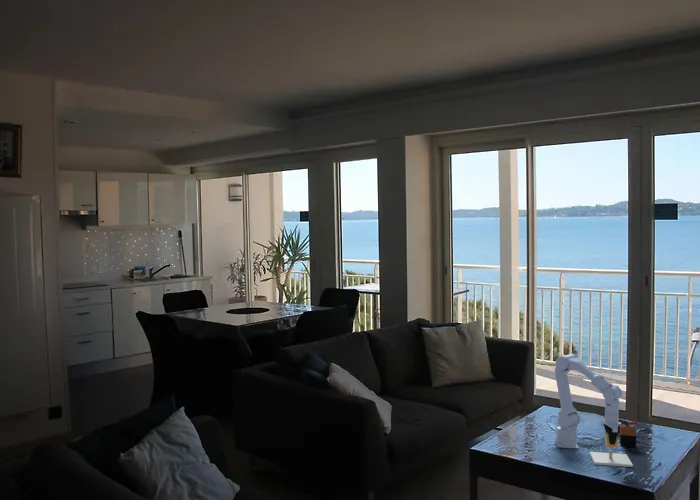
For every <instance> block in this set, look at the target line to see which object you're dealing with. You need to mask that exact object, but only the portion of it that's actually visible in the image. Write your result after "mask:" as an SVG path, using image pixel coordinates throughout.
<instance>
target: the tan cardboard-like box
mask: <svg viewBox="0 0 700 500" xmlns="http://www.w3.org/2000/svg"><path fill="white" fill-rule="evenodd" d="M618 436H619V435H618ZM618 436H617V439H616V443H615V445H612V444H610V443H609V436H608V433H607V432H606V431H605V432H604V444H605V445H606V447H607V448H618V442H619V441H618V440H619V437H618Z"/></svg>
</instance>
